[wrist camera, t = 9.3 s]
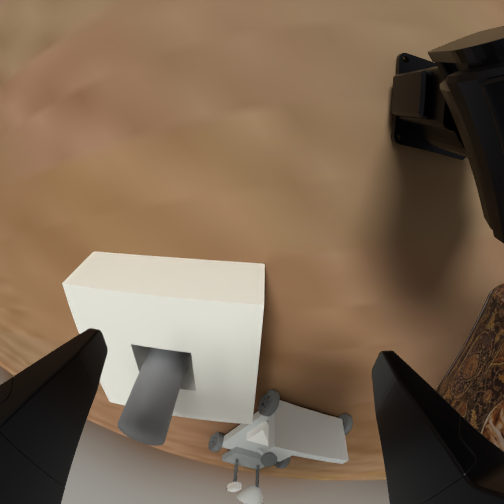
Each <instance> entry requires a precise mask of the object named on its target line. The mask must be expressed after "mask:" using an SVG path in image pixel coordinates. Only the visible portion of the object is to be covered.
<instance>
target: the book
mask: <svg viewBox="0 0 504 504" xmlns="http://www.w3.org/2000/svg"><path fill="white" fill-rule="evenodd" d="M438 393H439V394H440V395H441V396H442V397H443V398H444V399H445V400H446V401H447V402H448V403H449V404H450V405H451V406H452V407H453V408H454V409H455V410H456V411H457V412H458V413H459V414H460V415H461V416H463V417H464V418H465V419H466V420H467V421H468V422H469V423H470V424H471V425H472V426H473V427H474V428H475V429H477V430H478V431H479V432H480V433H481V434H482V435H484V436H485V437H486V438H487V439H488V440H490V441H491V442H492V443H493V444H495V445H496V446H497V447H499V448H500V449H501V450H502V451H504V284H501V285H499V286H497V287H496V288H495V289H493V290H492V291H491V292H490V293H489V296H488V298H487V301H486V303H485V305H484V307H483V309H482V311H481V313H480V316H479V318H478V320H477V322H476V324H475V326H474V327H473V329H472V331H471V333H470V335H469V337H468V339H467V341H466V342H465V344H464V346H463V348H462V350H461V351H460V353H459V355H458V356H457V358H456V360H455V361H454V363H453V365H452V366H451V368H450V369H449V371H448V373H447V374H446V376H445V378H444V379H443V381H442V383H441V384H440V386H439V388H438Z"/></svg>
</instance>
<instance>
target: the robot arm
mask: <svg viewBox="0 0 504 504" xmlns="http://www.w3.org/2000/svg"><path fill="white" fill-rule="evenodd" d="M428 54H429V56H430V58H431V59H432V61H433V62H435V63H433V62H431V61H428V60H425V59H422V58H419V57H416V56H413V55H410V54H407V53H402V54H399V55H398V56H397V71H396V76H394V77H393V92H392V105H391V112H392V113H393V125H392V134H391V136H392V140H393V141H394V142H395V143H397V144H401V145H406V146H410V147H415V148H419V149H423V150H427V151H431V152H435V153H439V154H443V155H446V156H450V157H454V158H457V159H461V160H463V159H465V157H468V159H469V162H470V166H471V169H472V172H473V175H474V179H475V182H476V186H477V190H478V193H479V197H480V201H481V206H482V210H483V214H484V218H485V220H486V221H487V223H488V225H489V226H490V228H491V229H492V230H493V234H494V236H495V238H497V239H498V240H500V241H501V242H502V243H504V26H502V27H497V28H493V29H488V30H484V31H480V32H477V33H474V34H472V35H469V36H466V37H463V38H461V39H458V40H456V41H453V42H451V43H448V44H446V45H443V46H441V47H438V48H436V49H434V50H431V51H429V52H428ZM403 57H404V58H405V59H406V60H407V62H406V63H405V62H404V61H403ZM399 133H400V134H401V139H400V140H398V139H397V135H398V134H399ZM107 352H108V349H107V345H106V342H105V339H104V336H103V334H102V332H101V330H99V329H94V328H89V329H87V330H86V331H84V332H82V333H81V334H79V335H78V336H76V337H74V338H73V339H71V340H70V341H68V342H66V343H65V344H63V345H62V346H60V347H59V348H57V349H55V350H54V351H52V352H51V353H49V354H48V355H46V356H45V357H43V358H41V359H40V360H38V361H37V362H35V363H34V364H32V365H31V366H29V367H27V368H26V369H24V370H23V371H21V372H20V373H18V374H17V375H15V376H14V377H12V378H11V379H9V380H8V381H6V382H4V383H3V384H1V385H0V504H61V501H62V497H63V493H64V489H65V485H66V481H67V478H68V474H69V471H70V468H71V464H72V461H73V458H74V455H75V451H76V448H77V445H78V442H79V439H80V436H81V433H82V430H83V428H84V425H85V422H86V419H87V416H88V413H89V411H90V408H91V405H92V403H93V400H94V397H95V395H96V392H97V389H98V385H99V382H100V378H101V374H102V370H103V367H104V363H105V360H106V356H107ZM372 380H373V390H374V401H375V412H376V419H377V424H378V429H379V435H380V440H381V446H382V452H383V458H384V464H385V471H386V478H387V484H388V492H389V501H390V504H504V451H502V450H501V449H500V448H499V447H497V446H496V445H495V444H493V443H492V442H491V441H490V440H488V439H487V438H486V437H485V436H484V435H482V434H481V433H480V432H479V431H478V430H477V429H475V428H474V427H473V426H472V425H471V424H470V423H469V422H468V421H467V420H466V419H465V418H464V417H463V416H461V415H460V414H459V413H458V412H457V411H456V410H455V409H454V408H453V407H452V406H451V405H450V404H449V403H448V402H447V401H446V400H445V399H444V398H443V397H442V396H441V395H440V394H439V393H438V392H436V391H435V390H434V389H433V388H432V387H431V386H430V385H429V384H428V383H427V382H426V381H425V380H424V379H423V378H422V377H421V376H419V375H418V374H417V373H416V372H415V371H414V370H413V369H412V368H411V367H410V366H409V365H408V364H407V363H406V362H404V361H403V360H402V359H401V358H400V357H399V356H398V355H397V354H396V353H395V352H393V351H381V352H380V353H379V355H378V357H377V359H376V362H375V364H374V366H373V369H372Z"/></svg>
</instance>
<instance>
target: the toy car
mask: <svg viewBox="0 0 504 504" xmlns="http://www.w3.org/2000/svg"><path fill="white" fill-rule="evenodd" d="M352 424H353V420H352V417H351V416H350V415H349V414H345V413H344V414H342V415H341V416H339V417H338V418H336V417H333V416H329V415H326V414H322V413H319V412H315V411H312V410H309V409H306V408H302V407H299V406H296V405H293V404H290V403H287V402H284V401H281V400H280V395H279V393H278V392H277V391H275V390H272V389H271V390H269V391H268V392H267V393H266V394H265V395H263V396H262V397H261V398H260V401H259V404H258V411H257V412H256V413H255V414H253V421H252V424H240V425H239V426H237V427H236V428H235V429H233V430H232V431H230V432H229V433H228V434H226V435H225V436H224V435H223V433H220V432H216V433H215V434H214V435H212V436H211V438H210V441H209V450H211V451H214V452H217V451H219V450H220V448H221V447H224V448H227V449H231V450H230V451H228V452H226V453H225V454H223V455H222V461H225V462H228V463H232V464H235V469H234V480H233V483H230V484H228V486H227V491H231V492H235V491H238V490H241V489H242V483H240V482H236V480H237V469H238V465H240V466H244V467H248V468H253V469H256V485H252V486H249V487H247V488H244V489H243V490H241V491H240V492H238V493H237V494H236V497H237V498H238V499H239V500H240V501H241V502H243V503H245V504H263V495H262V491H261V489H260V487H258V484H259V469H261V468H263V467H265V466H266V467H270V466H273V465H274V464H275V466H276V467H277V468H285V467H286V466H287V465H288V464H289V462H290V456H292V455H293V456H298V457H303V458H309V459H314V460H320V461H327V462H333V463H341V464H343V463H345V462H347V461H349V459H348V452H347V446H346V440H345V435H346V434H347V433H348V432H349V431H350V430H351V428H352Z"/></svg>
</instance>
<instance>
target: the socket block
mask: <svg viewBox="0 0 504 504" xmlns="http://www.w3.org/2000/svg"><path fill="white" fill-rule="evenodd" d="M62 284H63V287H64V291H65V294H66V297H67V300H68V303H69V306H70V309H71V312H72V315H73V318H74V321H75V324H76V326H77V329H78V332H79V334H81V333H82V332H84V331H86V330H87V329H89V328H94V329H99V330H101V332H102V334H103V336H104V339H105V342H106V345H107V349H108V352H107V356H106V360H105V363H104V367H103V370H102V374H101V378H100V383H101V385H102V387H103V389H104V391H105V393H106V395H107V397H108V399H109V401H110V402H113V403H117V404H121V405H126V402H127V400H128V398H129V395H130V393H131V390H132V388H133V386H134V383H135V381H136V379H137V377H138V374H139V372H140V370H141V367H142V365H143V363H144V361H145V358H146V356H147V354H148V352H149V349H150V347H151V348H158V349H165V350H172V351H180V352H188V353H191V354H190V357H189V360H188V363H187V367H186V370H185V373H184V377H183V380H182V383H181V387H180V390H179V393H178V397H177V400H176V404H175V407H174V410H173V414H172V415H174V416H180V417H187V418H194V419H201V420H210V421H219V422H229V423H241V424H252V421H253V412H254V402H255V393H256V383H257V374H258V364H259V354H260V344H261V333H262V323H263V312H264V285H265V264H261V263H246V262H231V261H216V260H202V259H187V258H173V257H160V256H146V255H133V254H120V253H107V252H95V251H94V252H93V253H92V254H91V255H90V256H89V257H88V258H87V259H86V260H85V261H84V262H83V263H82V264H81V265H80V266H79V267H78V268H77V269H76V270H75V271H74V272H73V273H72V274H71V275H70V276H69V277H68V278H67V279H66V280H65V281H64V282H63V283H62Z"/></svg>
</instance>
